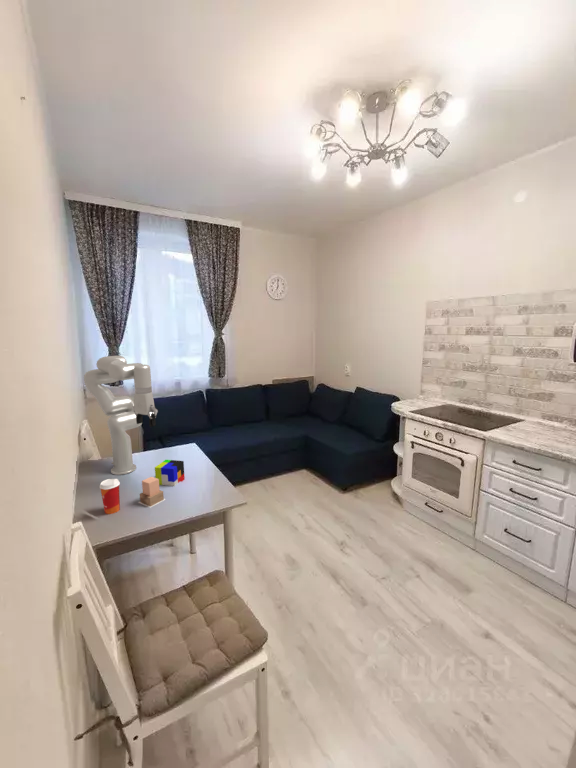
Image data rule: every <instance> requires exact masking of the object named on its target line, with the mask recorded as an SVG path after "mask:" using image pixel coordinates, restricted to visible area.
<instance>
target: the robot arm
mask: <svg viewBox="0 0 576 768" xmlns="http://www.w3.org/2000/svg"><path fill="white" fill-rule="evenodd" d="M151 372H152V371H151V366H150V365H148V364H143V363H141V362H135V363H128V361H127V359H126V358H125V357H124V356H122V355H109V356H102V357H100V358H98V360H97V361H96V369H91V370H88V371H86V372H85V374H84V375H83V381H84V385H85V388H86V389H87V391H88V392H89V393H90V394H91V395H92V396H93V397H94V398H95V400H96V402H97V403H98V405H99V406H100V409H101V410H102V412H103V413H104V415H105V416H106V417H108V419H107V421H106V422H107V427H108V428H107V429H108V431H109V436H110V441H111V451H112V452H111V453H112V460H113V461H111V465H113V467H112V468H111V469H110V472H111V474H113V475H117V476H118V475H120V476H121V475H122V476H123V475H127V474H130V473H132V472H134V471H135V470H137V465H136V464H135V463H134V459H133V451H132V438H131V436H130V435H129V434H128V433H127V432H126V431H129V430H132V429H135V428H136V429H137V428H139V427H140V426H142V424H143V422H144V418H143V416H147V417H149V419H148V422H149V424H148V425H149V428H153V427H155V426H156V425H157V424H156V423H157V422H156V421H157V420H156V418H157V416H158V413H159V410H158V409H157V408H156V406H155V401H154V395H153V390H152V389H153V387H152V386H153V385H152V375H151ZM126 380H127V381H128V380H133V382H134V383H133V384H134V394H133V395H134V396H133V399H132V398H131V397H130V396H128V395H121V396H115V394H113V392H112V391H111V389H109V388H108V387H106V386H105V384H111V383H113V384H114V383H117V382H118V381H126Z"/></svg>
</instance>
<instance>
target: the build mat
mask: <svg viewBox="0 0 576 768" xmlns="http://www.w3.org/2000/svg"><path fill="white" fill-rule="evenodd" d="M166 500H167V499H166V498H164V500H162V501H160V502H158V503H156V504H154V505H153V506H148V505H146V504H143V503H141V502H140V501H138V502H137V503H138V504H140V505H142V506H145V507H147V508H150V509H151V508H152V507H155V506H156V505H158V504H160V503H163V502H164V501H166Z"/></svg>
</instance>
